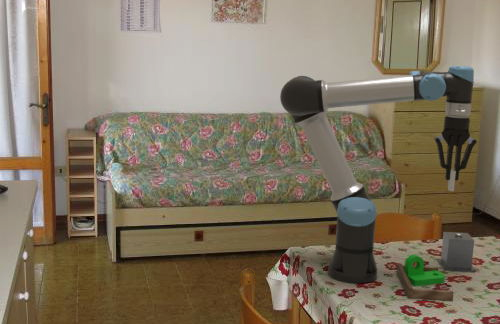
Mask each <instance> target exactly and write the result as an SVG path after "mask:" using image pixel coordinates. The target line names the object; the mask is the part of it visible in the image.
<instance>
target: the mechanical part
mask: <svg viewBox="0 0 500 324" xmlns="http://www.w3.org/2000/svg"><path fill="white" fill-rule="evenodd" d="M414 263H416V265H414ZM404 265H405V269H404V270H405V272H406V274H407V276H408V278H409V281H410V283H411V285H412V287H420V286H430V285H438V284H439V285H440V284H443V283H445V277H446V276H445V274H444V273H442V272H441V271H439V270H438V271H437V270H436V271H426V272H423V270H424V266H425V262H424V259H423V258H422V257H421V256H419V255H418V254H415V253H414V254H410V255H409V256H408V257H407V258H406V259H405V263H404ZM412 266H415V267H414V268H412Z"/></svg>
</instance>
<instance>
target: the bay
mask: <svg viewBox="0 0 500 324" xmlns="http://www.w3.org/2000/svg"><path fill="white" fill-rule="evenodd" d="M415 266H416V265H412V268H414V267H415ZM404 269H405V264H402V263H401V262H399V263H397V265H396V274H397V276H398V278H399V280H400V283H401V285H402V287H403V290H404V292H405V294H406V298H408V299H418V300H419V299H420V300H421V299H422V300H433V301H434V300H437V301H454V295H455V293H454V291H453V290H445V289H444V290H442V289H430V288H429V289H427V288H426V289H425V288H414V286H413V285H412V284H411V283H410V281H409V278H408V276H407V274H406V272H405V270H404ZM436 270H437V271H439V267H438V266H427V265H424V270H423V272H426V271H436Z"/></svg>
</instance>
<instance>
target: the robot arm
mask: <svg viewBox="0 0 500 324" xmlns="http://www.w3.org/2000/svg"><path fill="white" fill-rule="evenodd" d="M474 71H475V70H474V69H473V67H471V66H465V65H464V66H463V65H451V66H449V67H448V71H442V72H441V71H429V70H428V71H425V70H412V71H410V72H409V74H408V75H402V76H401V75H399V76H390V77H389V76H388V77H381V78H380V77H379V78H378V77H377V78H369V79H367V78H365V79H355V80H344V81H334V82H326V81H325V80H324V79H318V80H315V79H313V78H312V77H310V76H306V75H298V76H295V77H293V78H290V80H288V81H287V82H286V83H285V84H284V85H283V87H282V88H281V90H280V96H279V99H280V100H279V101H280V104H281V106H282V108H283V109H284V111H286V112H287V113H288V114H290V116H291V118H292V121H293V122H294V124H295V125H297V126H299V127H301V128H302V131H303V133H304V135H305V137H306V139H307V142H308V144H309V145H310V148H311V150H312V152H313V155H314V156H315V158H316V161H317V163H318V165H319V167H320V169H321V171H322V173H323V176H324V178H325V179H326V183H327V184H328V186H329V189H330V190H331V192H332V193H331V196H330V202H331V203H332V206H333V208H334V210H335V213H336V214H337V217H336V218H337V219H336V232H335V247H334V248H335V249H334V252H333V254H332V256H331V258H330V261H329V263H328V268H327V269H328V271H327V273H328V276H329V277H331V278H333V279H335V280H338V281H341V282H345V283H351V284H352V283H353V284H365V283H370V282H371V283H372V282H373V281H375V280H376V279H377V278H378V267H377V263H376V259H375V256H374V255H375V254H374V247H375V246H374V244H375V234H376V233H375V232H376V231H375V230H376V218H377V216H378V215H377V213H378V212H377V207H376V204H375V202H373V200H372V199H371V198H370V196H369V195H368V193H367V191H366V188H365V187H364V184H363V183H360V182H358V181H357V179H356V177H355V175H354V174H353V172H352V169H351V167H350V164H349V163H348V161H347V159H346V156H345V154H344V152H343V150H342V148H341V145H340V144H339V142H338V139H337V137H336V135H335V133H334V132H335V131H334V130H333V128H332V126H331V124H330V121H329V119H328V117H327V112H328V110H329V109H332V108H333V109H334V108H345V107H357V106H366V105H367V106H368V105H377V104H378V105H379V104H380V105H381V104H391V103H392V104H393V103H402V102H414V101H426V100H427V101H431V102H433V101H437V100H439V99H441V98H443V97H446V98H445V99H446V100H445V112H444V114H445V115H446V116H445V117H444V123H443V130H442V132H441V134H440V135H438V136H434V137H433V139H434V142H435V144H436V146H437V153H438V159H439V165H440V167H441V169H444V170H445V176H444V179H445V180H446V181H448V182H447V190H448V191H449V192H455V183H456V181H458V180H459V177H460V176H459V174H460V171H461V170H465V169H466V168H467V165H468V162H469V160H470V157H471V153H472V150H473V149H474V146H475V145H476V144H477V139H475V138H473V137H471V134H470V122H471V120H470V119H471V118H470V116H471V110H472V98H473V89H474V84H475V82H474V78H475V77H474V75H475V72H474ZM443 140H444V141H445V143H446V144H447V153H446V161H445V155H444V148H443V144H442V143H443ZM466 142H467V146H466V148H465V150H464V153H463V157H462V158H461V156H462V149H463V145H465V143H466ZM454 147H455V153H453V152H454ZM453 155H454V165H452V164H453ZM452 166H453V168H452Z"/></svg>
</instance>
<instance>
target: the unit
mask: <svg viewBox="0 0 500 324" xmlns="http://www.w3.org/2000/svg"><path fill="white" fill-rule="evenodd" d="M442 233H443V234H442V244H441V245H442V246H441V255H440V258H437V259H436V261H437V262H438V264H439V265H440V267H441V269H442V270H443V271H449V272H450V271H451V272H463V273H464V272H466V273H468V272H469V273H476V269H475V268H474V267H473V255H474V248H475V247H474V246H475V239H474V238H473V237H472V236H471V235H470V234H469V232H454V231H443V232H442Z"/></svg>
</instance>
